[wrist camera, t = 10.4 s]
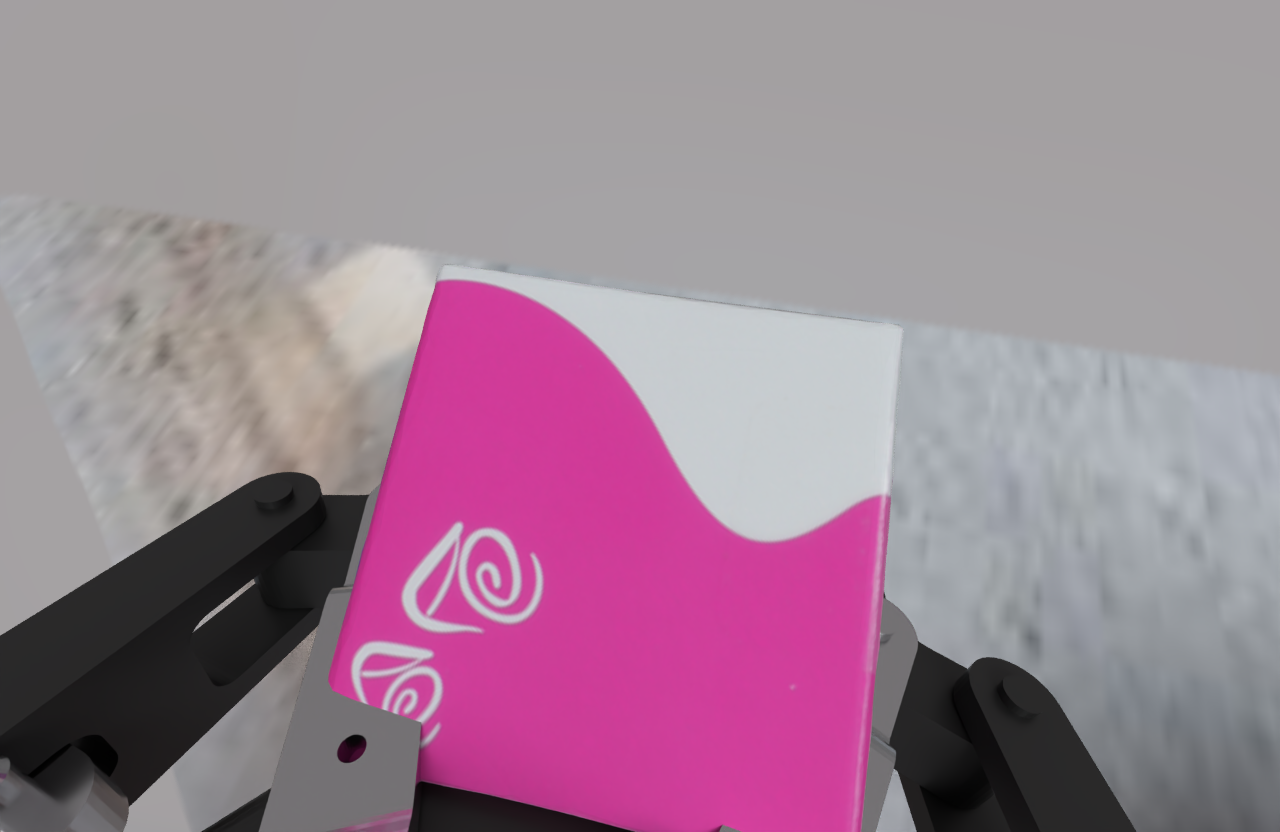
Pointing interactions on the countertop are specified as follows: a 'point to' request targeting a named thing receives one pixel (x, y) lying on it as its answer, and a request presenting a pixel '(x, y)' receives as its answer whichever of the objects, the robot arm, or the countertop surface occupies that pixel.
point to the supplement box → (633, 555)
